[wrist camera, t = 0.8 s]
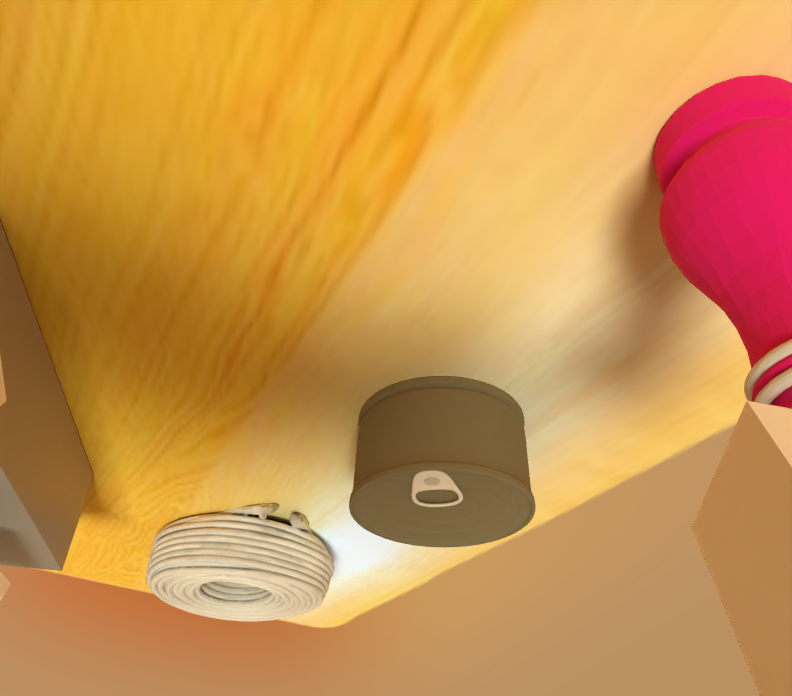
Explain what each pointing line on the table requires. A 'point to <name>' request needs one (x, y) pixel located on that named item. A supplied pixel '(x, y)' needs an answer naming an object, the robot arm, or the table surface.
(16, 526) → the rocker switch box
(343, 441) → the table surface
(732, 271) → the pepper mill
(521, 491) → the can
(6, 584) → the rocker
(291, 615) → the cable
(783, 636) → the robot arm
